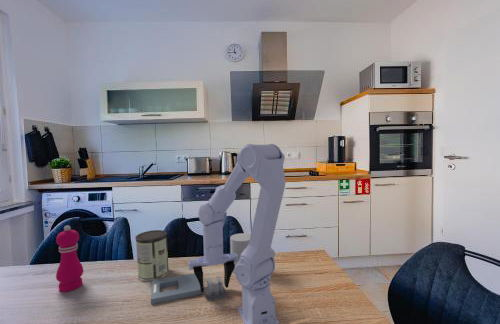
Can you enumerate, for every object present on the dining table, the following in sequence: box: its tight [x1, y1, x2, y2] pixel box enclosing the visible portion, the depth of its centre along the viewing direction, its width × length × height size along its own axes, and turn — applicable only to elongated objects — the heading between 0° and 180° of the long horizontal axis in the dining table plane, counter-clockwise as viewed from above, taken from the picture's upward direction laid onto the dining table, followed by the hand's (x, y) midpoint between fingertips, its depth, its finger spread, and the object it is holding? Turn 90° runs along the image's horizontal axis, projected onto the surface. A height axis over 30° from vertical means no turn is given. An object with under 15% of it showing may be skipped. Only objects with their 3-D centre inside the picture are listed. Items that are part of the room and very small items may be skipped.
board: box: [150, 272, 203, 305], centre depth 79 cm, size 11×14×2 cm
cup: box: [229, 232, 251, 275], centre depth 91 cm, size 8×8×12 cm
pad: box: [203, 286, 229, 303], centre depth 77 cm, size 8×6×1 cm
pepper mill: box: [55, 225, 84, 293], centre depth 83 cm, size 7×7×20 cm
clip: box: [206, 275, 224, 297], centre depth 77 cm, size 4×4×4 cm
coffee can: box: [134, 229, 170, 282], centre depth 90 cm, size 10×10×14 cm
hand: (214, 288), depth 77 cm, fingers open, 7 cm apart
